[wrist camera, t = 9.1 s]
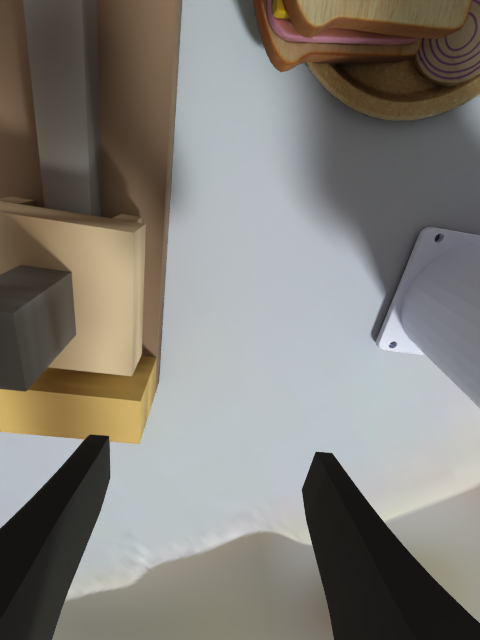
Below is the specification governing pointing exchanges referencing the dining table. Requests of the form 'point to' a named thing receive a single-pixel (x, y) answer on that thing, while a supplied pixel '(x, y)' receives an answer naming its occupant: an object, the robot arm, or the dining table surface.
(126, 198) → the rail
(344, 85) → the toy sandwich meal
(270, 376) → the dining table surface
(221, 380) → the dining table surface
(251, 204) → the dining table surface
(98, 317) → the tan tabbed slider block
